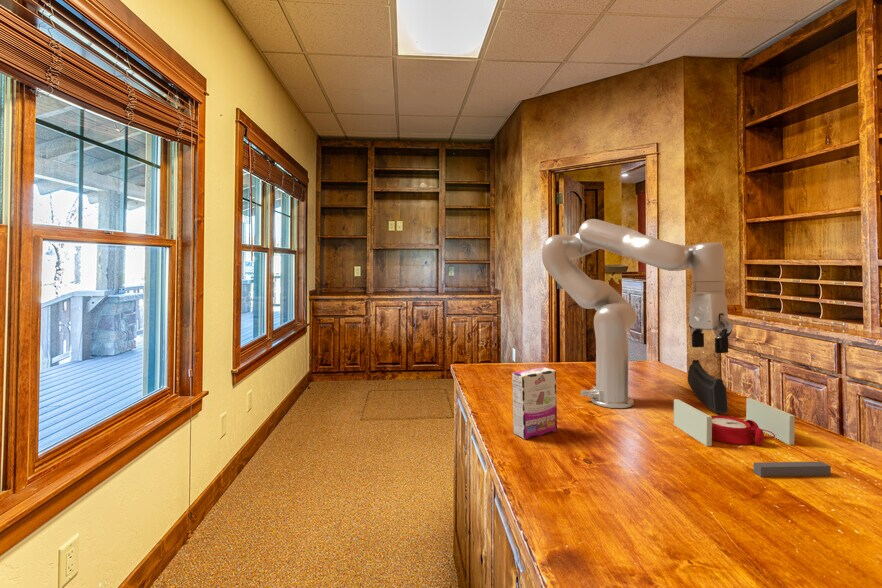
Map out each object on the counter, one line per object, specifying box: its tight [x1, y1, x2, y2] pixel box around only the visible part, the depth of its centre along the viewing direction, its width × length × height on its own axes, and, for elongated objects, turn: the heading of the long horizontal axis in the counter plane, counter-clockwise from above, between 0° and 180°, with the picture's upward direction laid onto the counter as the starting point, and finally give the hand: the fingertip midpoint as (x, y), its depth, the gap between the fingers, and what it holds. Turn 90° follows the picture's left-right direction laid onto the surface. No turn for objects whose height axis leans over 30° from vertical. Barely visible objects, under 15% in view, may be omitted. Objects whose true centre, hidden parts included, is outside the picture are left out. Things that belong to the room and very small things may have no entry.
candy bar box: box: [511, 367, 558, 440], centre depth 108 cm, size 11×5×16 cm, turn 117°
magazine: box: [686, 359, 729, 414], centre depth 131 cm, size 17×3×30 cm
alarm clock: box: [710, 414, 775, 447], centre depth 103 cm, size 10×6×15 cm
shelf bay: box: [673, 397, 796, 447], centre depth 105 cm, size 21×14×7 cm
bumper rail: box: [752, 461, 832, 478], centre depth 85 cm, size 14×2×2 cm, turn 90°
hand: (709, 349), depth 115 cm, fingers open, 9 cm apart
